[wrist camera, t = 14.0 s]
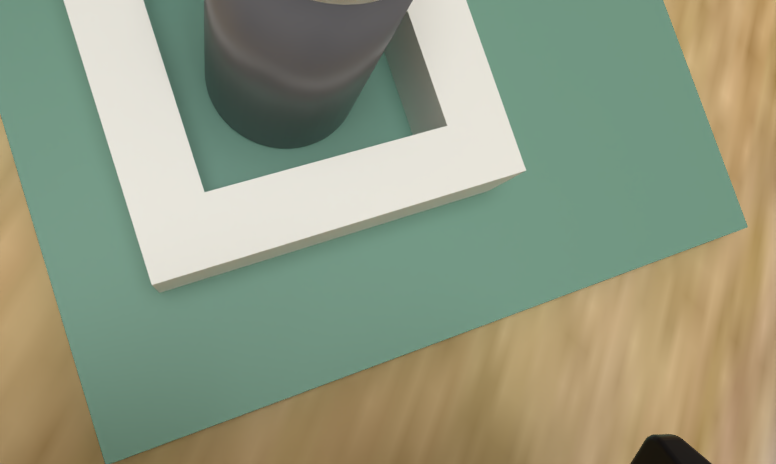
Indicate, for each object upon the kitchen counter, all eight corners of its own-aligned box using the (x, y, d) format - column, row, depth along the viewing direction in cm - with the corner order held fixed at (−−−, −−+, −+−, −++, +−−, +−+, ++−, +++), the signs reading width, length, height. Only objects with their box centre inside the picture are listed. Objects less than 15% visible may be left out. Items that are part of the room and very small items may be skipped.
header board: (729, 230, 28) (812, 213, 24) (110, 460, 21) (87, 486, 17) (593, -134, 29) (652, -208, 25) (-37, -29, 22) (-89, -107, 18)
